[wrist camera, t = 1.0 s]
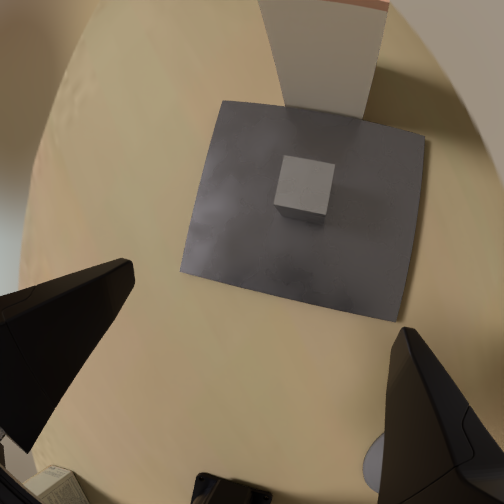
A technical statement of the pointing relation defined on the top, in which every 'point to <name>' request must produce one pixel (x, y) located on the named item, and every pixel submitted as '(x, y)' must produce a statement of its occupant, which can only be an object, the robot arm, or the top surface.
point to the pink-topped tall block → (325, 51)
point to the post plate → (307, 208)
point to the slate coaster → (374, 464)
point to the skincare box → (56, 486)
